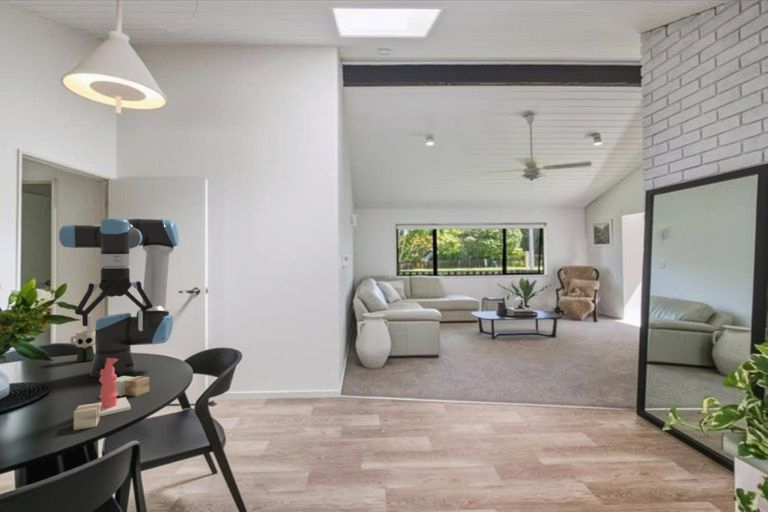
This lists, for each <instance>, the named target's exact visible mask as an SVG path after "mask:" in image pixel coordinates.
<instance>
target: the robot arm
mask: <svg viewBox="0 0 768 512" xmlns="http://www.w3.org/2000/svg"><path fill="white" fill-rule="evenodd" d="M179 239H180V238H179V233H178V228H177V224H176V222H175V221H173V220H169V219H153V218H151V219H149V218H144V219H143V218H131V219H125V218H103V219H101V221H100V224H87V225H86V224H85V225H79V224H78V225H77V224H65V225H62V226H61V228H60V229H59V233H58V240H59V242H60V245H61V246H62V247H64V248H73V249H82V248H83V249H86V248H88V249H95V248H96V249H100V266H101V267H102V268H101V269H100V282H99V283H92V282H89V283H88V285H87V290H86V292H85V294H84V296H83V297H82V298H81V300H80V302H79V304H78V305H77V306H76V308H75V310H74V313H75V314H76V315H78V316H82V317H81V319H82V322H81V323H82V326H83V327H86V330H87V336H88V337H91V330H92V315H91V312H92V311H94V309H95V308H96V307H97V306H98V305H99V304H100V303H101V302H102V301H103V300H104V299H105V298H106V297H109V298H111V297H122V296H126V297H127V298H128V299H129V300H131V301H132V302H133V303H134V304H135V305H136V306H137V307H138V308H139V309H138V310H137V311H136V315H135V316H132V314H131V313H130V312H122V313H115V314H111V315H110V314H109V315H106V316H102V317H100V318H97V319H96V321H95V329H94V330H95V345H94V346H95V351H94V357H95V358H94V359H92V363H91V366H90V368H89V376H90V377H91V378H98V379H100V377H101V375H100V371H101V369H105V365H106V361H107V360H106V359H107V358H116V359H118V361H116V362H115V363H114V364H113V365H112V366H113V367H114V370H115V371H114V373H115V374H116V375H117V377H118V376H119V377H120V376H124V375H126V374H130V373H132V372H134V371H135V370H136V362H135V359H134V356H133V353H132V352H131V347H132V346H142V345H143V346H144V345H153V346H155V345H158V344H159V345H161V344H165V343H167V342H168V341H169V340H170V337H171V335H172V331H173V326H174V317H173V316H172V315H171V314H170V311H169V310H168V309H167V308H166V304H167V290H168V289H167V288H168V277H169V261H170V254H171V253H173V252H174V247H177V246H178V245H179V244H180V243H179V242H180V241H179ZM138 246H142V249H143V250H144V252H145V253H146V255H145V266H144V267H145V268H144V276H143V277H144V278H143V279H144V280H143V287H142V282H141V281H139V280H136V281H134V282H133V281H132V282H131V279H130V274H131V273H130V271H131V270H130V268H129V266H130V249H134V248H136V247H138ZM132 287H133V288H134V289H136V291H137V292H138V294H139V295H140V297H141V299H142V300H141V301H142V302H140V300H139V299H137V298H136V297H135V296H134V295H133V294H132V293H131V292H129V290H130V288H132ZM97 289H100V290H101V292H100V293H99V294H98V296H97V297H96V298H95V299H94V300H93V301H92V302H91V303H89V305H88V306H87V307H86V308H85V306H86V305H87V303H88V301H89V299H90V298H91V296H92V294H93V293H94V291H96V290H97ZM84 308H85V309H84ZM83 309H84V310H83Z"/></svg>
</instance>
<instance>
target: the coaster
mask: <svg viewBox="0 0 768 512" xmlns="http://www.w3.org/2000/svg"><path fill="white" fill-rule="evenodd" d="M98 403H100V417H104V416H107V415H113V414H117V413H122V412H127V411H130V410H132V405H131V404H130V402H129V400H128V399H127V396H125V397H120V398H117V405H116V406H114V407H111V408H101V401H100V402H98Z"/></svg>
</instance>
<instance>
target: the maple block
mask: <svg viewBox="0 0 768 512" xmlns="http://www.w3.org/2000/svg"><path fill="white" fill-rule="evenodd" d="M100 421H101V416H100V403H99V402H96V403H89V404H81V405H78V406H77V407H76V409H75V410H74V411H73V431H77V430H82V429H89V428H94V427H97V426H98V424H99V422H100Z"/></svg>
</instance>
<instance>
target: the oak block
mask: <svg viewBox="0 0 768 512" xmlns="http://www.w3.org/2000/svg"><path fill="white" fill-rule="evenodd" d="M133 377H134V378H131V379H128V380H125V395H124V396H131V397H138V396H141V395H143V394H146V393H148V392H150V376H142V375H137V376H133Z"/></svg>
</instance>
